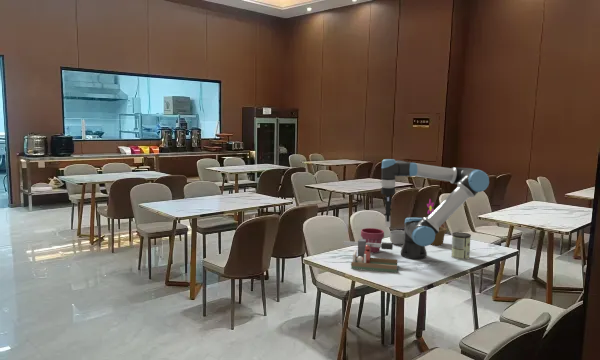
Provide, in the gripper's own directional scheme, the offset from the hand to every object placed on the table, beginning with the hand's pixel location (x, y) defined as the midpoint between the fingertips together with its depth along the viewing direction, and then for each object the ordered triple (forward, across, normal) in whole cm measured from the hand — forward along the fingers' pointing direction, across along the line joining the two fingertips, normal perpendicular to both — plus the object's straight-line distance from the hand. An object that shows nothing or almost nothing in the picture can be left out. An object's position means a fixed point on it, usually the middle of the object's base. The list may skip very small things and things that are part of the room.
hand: (387, 224), depth 251 cm
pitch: (+22, +8, -7) cm, 24 cm away
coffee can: (+23, -20, +43) cm, 52 cm away
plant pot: (+22, -22, -9) cm, 33 cm away
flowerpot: (+23, -49, +31) cm, 63 cm away
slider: (+20, +7, -11) cm, 24 cm away
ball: (+18, +10, -15) cm, 26 cm away
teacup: (+22, -46, +7) cm, 51 cm away
